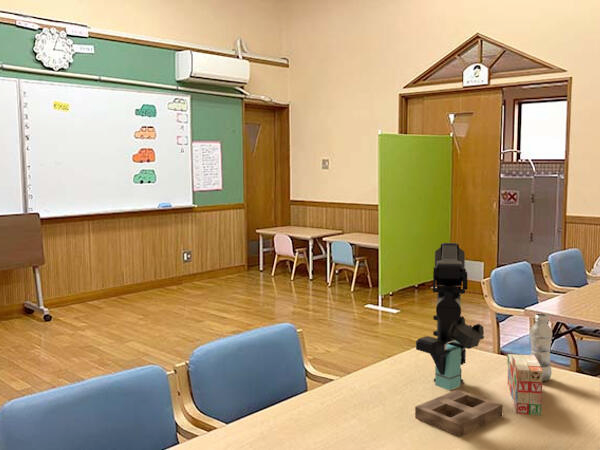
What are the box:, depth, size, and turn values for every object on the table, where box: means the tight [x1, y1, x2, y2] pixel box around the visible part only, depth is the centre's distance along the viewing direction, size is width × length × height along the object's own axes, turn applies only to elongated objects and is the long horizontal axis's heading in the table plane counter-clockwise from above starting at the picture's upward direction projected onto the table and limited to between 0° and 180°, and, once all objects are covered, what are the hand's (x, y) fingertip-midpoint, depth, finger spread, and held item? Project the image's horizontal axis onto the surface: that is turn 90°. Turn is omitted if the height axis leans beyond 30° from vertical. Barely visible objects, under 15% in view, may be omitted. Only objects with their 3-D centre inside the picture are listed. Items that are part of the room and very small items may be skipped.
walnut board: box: [414, 389, 503, 438], centre depth 152 cm, size 14×18×3 cm
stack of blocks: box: [507, 353, 543, 416], centre depth 163 cm, size 21×6×12 cm, turn 167°
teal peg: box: [434, 344, 462, 391], centre depth 148 cm, size 4×4×10 cm
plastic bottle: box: [529, 313, 553, 382], centre depth 176 cm, size 6×7×20 cm
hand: (448, 372), depth 148 cm, fingers closed on teal peg, 4 cm apart
